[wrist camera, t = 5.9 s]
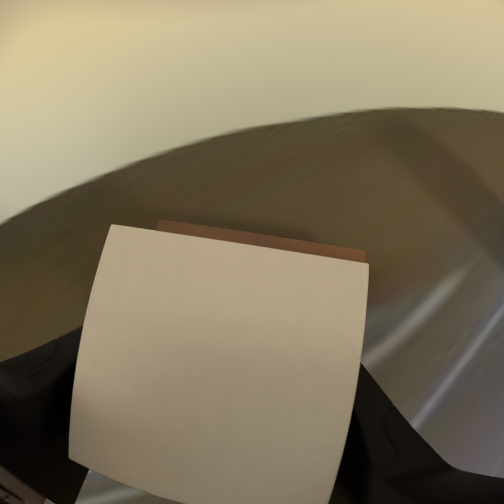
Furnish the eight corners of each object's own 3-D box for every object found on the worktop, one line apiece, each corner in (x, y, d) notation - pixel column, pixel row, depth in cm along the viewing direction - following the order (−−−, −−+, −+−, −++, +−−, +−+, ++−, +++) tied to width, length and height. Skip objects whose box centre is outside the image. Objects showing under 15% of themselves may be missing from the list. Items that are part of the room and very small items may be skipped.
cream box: (282, 421, 13) (323, 520, 4) (177, 401, 13) (67, 458, 4) (299, 320, 15) (369, 263, 5) (196, 302, 15) (110, 223, 6)
